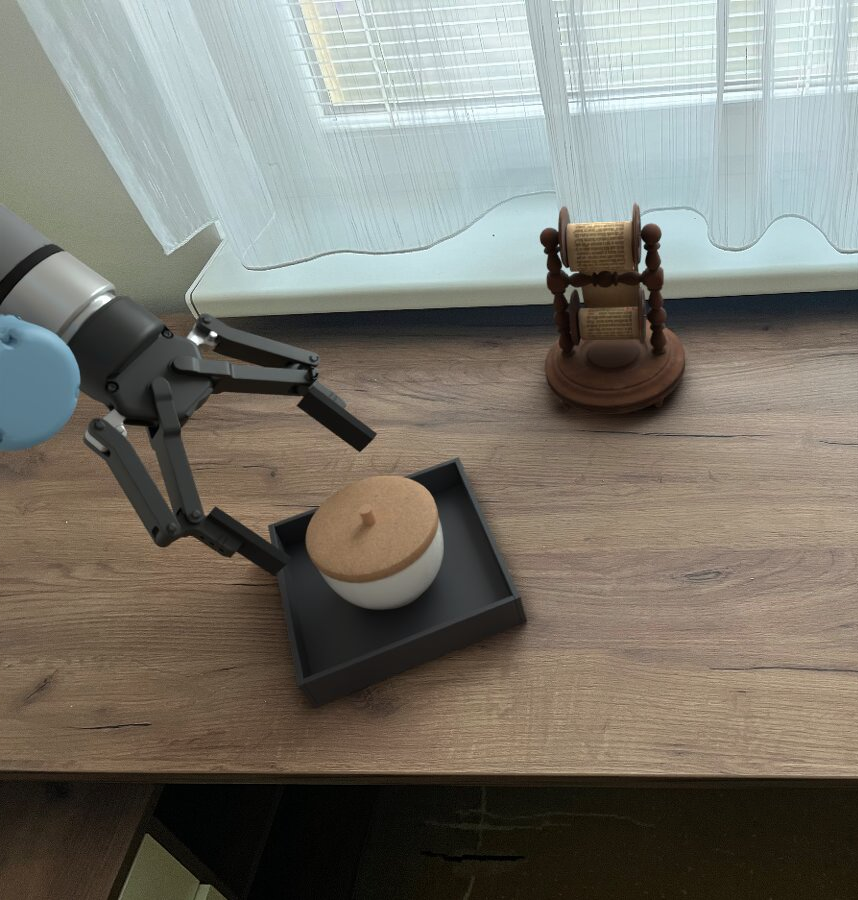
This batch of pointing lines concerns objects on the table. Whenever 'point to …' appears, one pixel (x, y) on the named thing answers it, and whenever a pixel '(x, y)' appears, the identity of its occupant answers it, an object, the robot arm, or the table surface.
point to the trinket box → (377, 541)
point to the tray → (405, 628)
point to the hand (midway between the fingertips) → (328, 501)
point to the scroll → (609, 317)
